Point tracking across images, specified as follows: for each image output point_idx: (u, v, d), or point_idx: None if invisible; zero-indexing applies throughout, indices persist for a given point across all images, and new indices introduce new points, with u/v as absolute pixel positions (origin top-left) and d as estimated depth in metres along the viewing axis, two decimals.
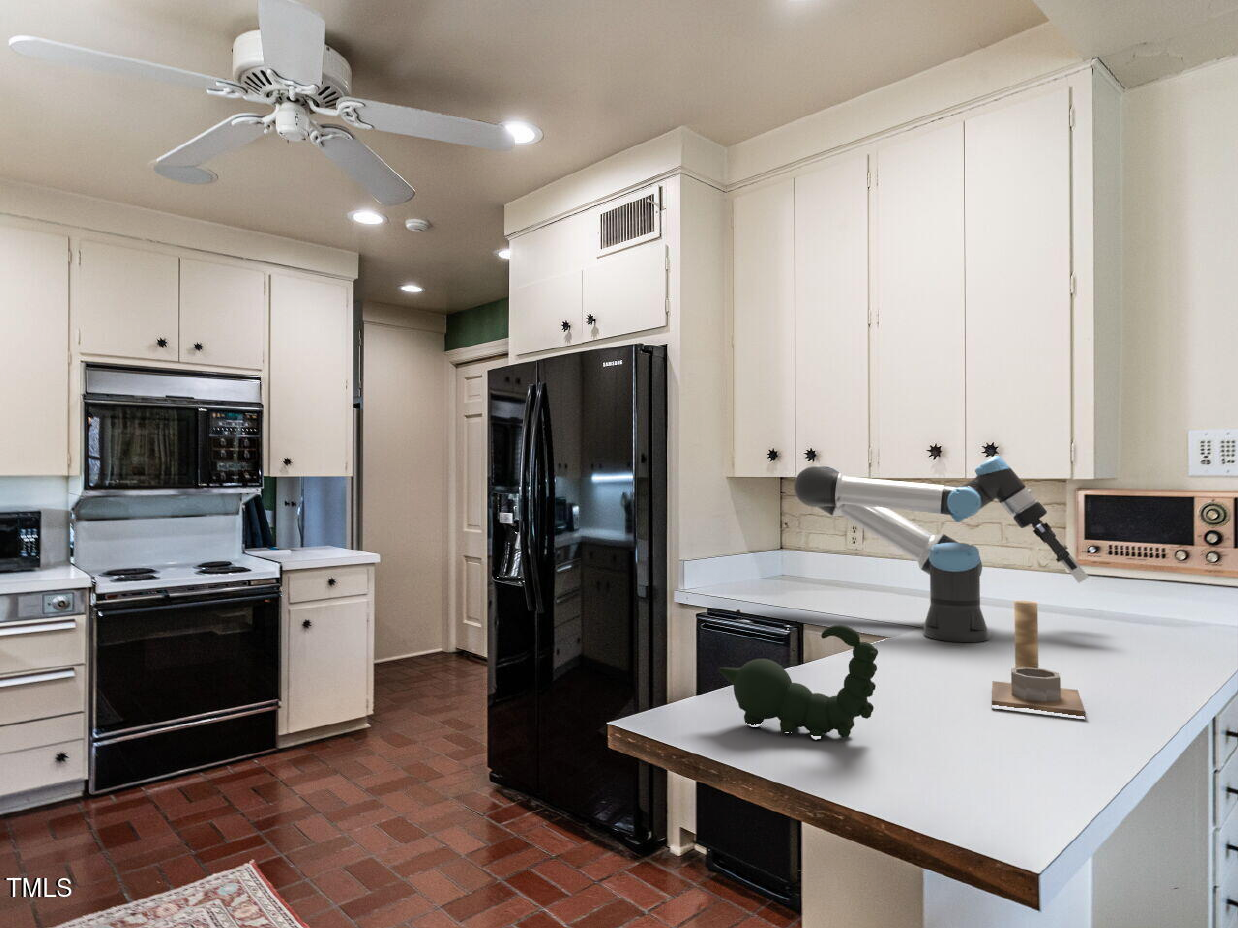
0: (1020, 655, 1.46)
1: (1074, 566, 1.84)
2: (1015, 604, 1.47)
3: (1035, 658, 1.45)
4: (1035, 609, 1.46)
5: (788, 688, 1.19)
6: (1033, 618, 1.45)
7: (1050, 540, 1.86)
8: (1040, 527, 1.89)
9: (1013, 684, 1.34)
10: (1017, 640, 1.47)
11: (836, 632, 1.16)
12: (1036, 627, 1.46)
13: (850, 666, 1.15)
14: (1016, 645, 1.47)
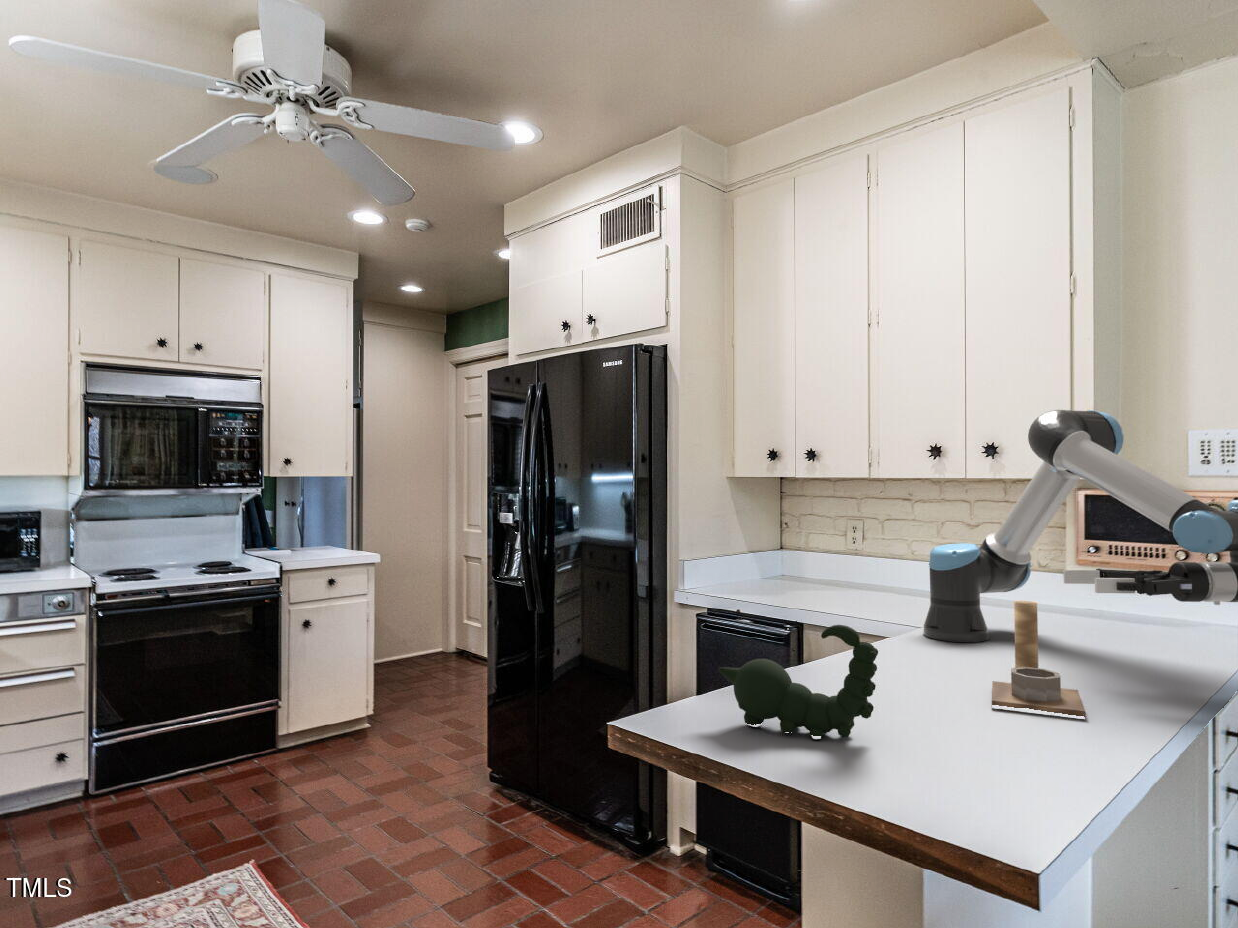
0: (1020, 655, 1.46)
1: (1123, 588, 1.37)
2: (1015, 604, 1.47)
3: (1035, 658, 1.45)
4: (1035, 609, 1.46)
5: (788, 688, 1.19)
6: (1033, 618, 1.45)
7: (1170, 586, 1.36)
8: (1188, 586, 1.37)
9: (1013, 684, 1.34)
10: (1017, 640, 1.47)
11: (836, 632, 1.16)
12: (1036, 627, 1.46)
13: (850, 666, 1.15)
14: (1016, 645, 1.47)
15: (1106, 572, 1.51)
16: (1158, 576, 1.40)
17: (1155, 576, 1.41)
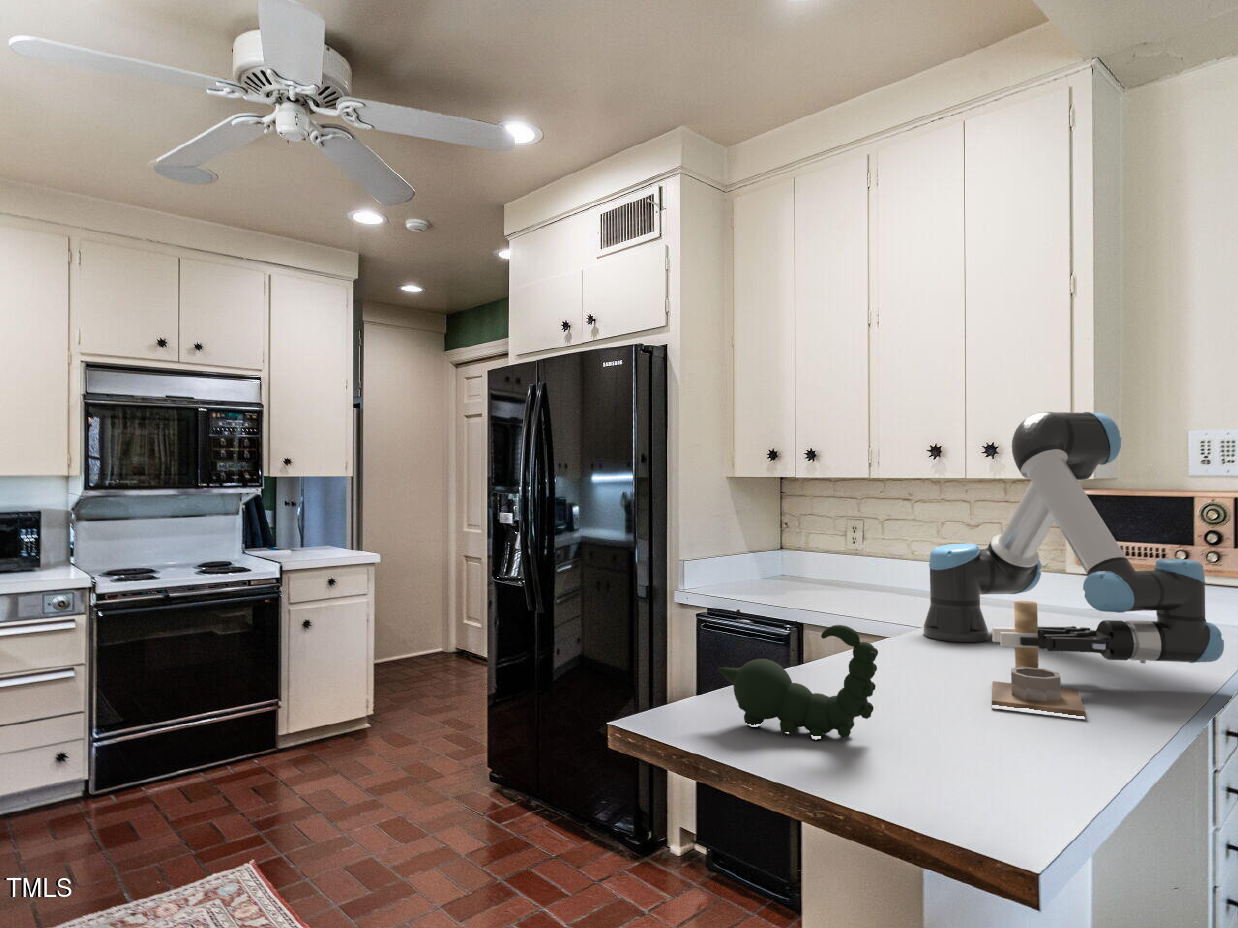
0: (1020, 655, 1.46)
1: (1025, 643, 1.44)
2: (1015, 604, 1.47)
3: (1035, 658, 1.45)
4: (1035, 609, 1.46)
5: (788, 688, 1.19)
6: (1033, 618, 1.45)
7: (1075, 644, 1.40)
8: (1100, 646, 1.39)
9: (1013, 684, 1.34)
10: None
11: (836, 632, 1.16)
12: (1036, 627, 1.46)
13: (850, 666, 1.15)
14: None
15: None
16: (1075, 633, 1.44)
17: (1073, 633, 1.44)
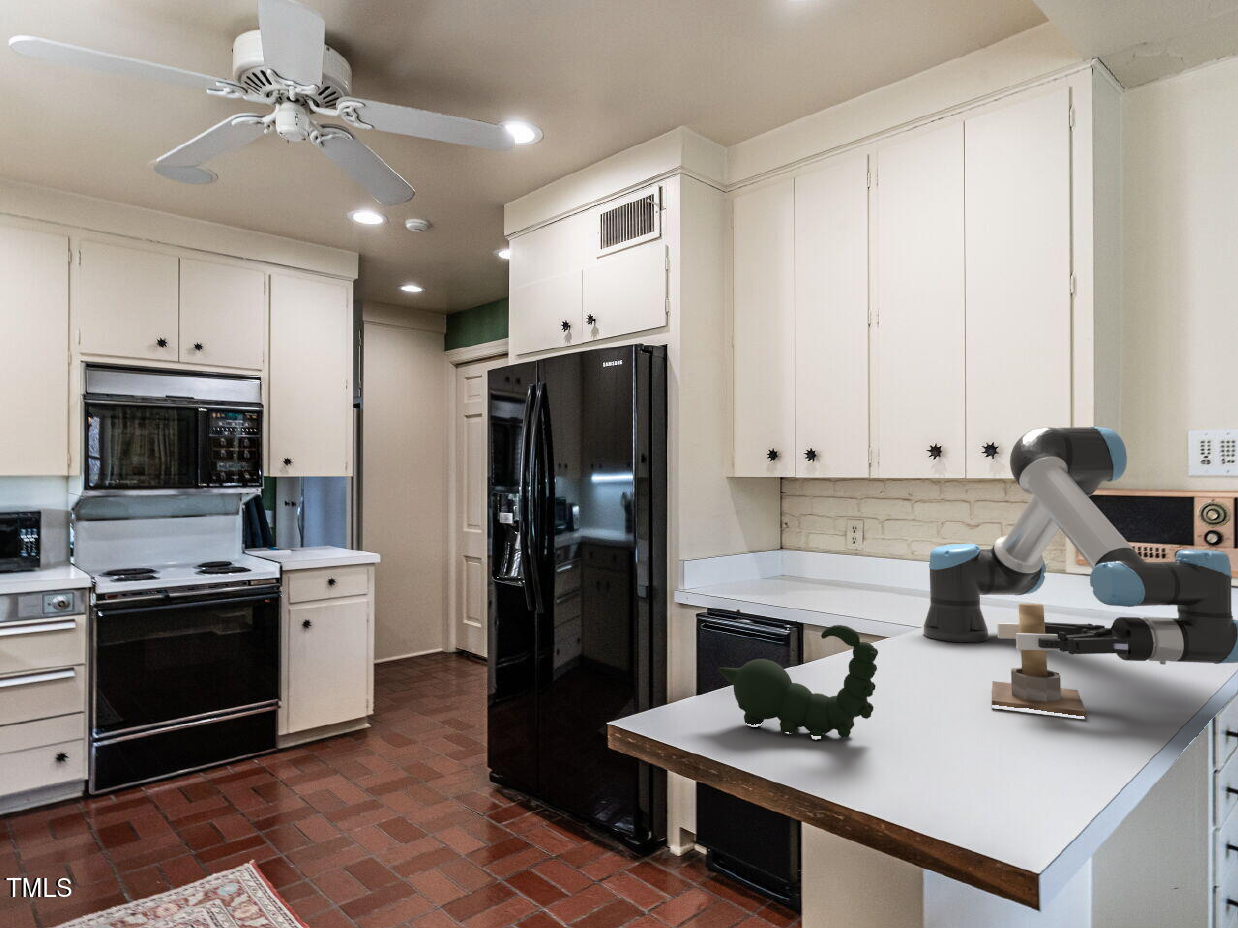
0: (1027, 663, 1.34)
1: (1044, 645, 1.28)
2: (1019, 607, 1.35)
3: (1044, 666, 1.33)
4: (1041, 611, 1.34)
5: (788, 688, 1.19)
6: (1039, 622, 1.33)
7: (1098, 645, 1.26)
8: (1123, 646, 1.26)
9: (1013, 684, 1.34)
10: None
11: (836, 632, 1.16)
12: (1043, 631, 1.33)
13: (850, 666, 1.15)
14: (1022, 652, 1.35)
15: (1045, 626, 1.38)
16: (1093, 633, 1.30)
17: (1090, 632, 1.30)
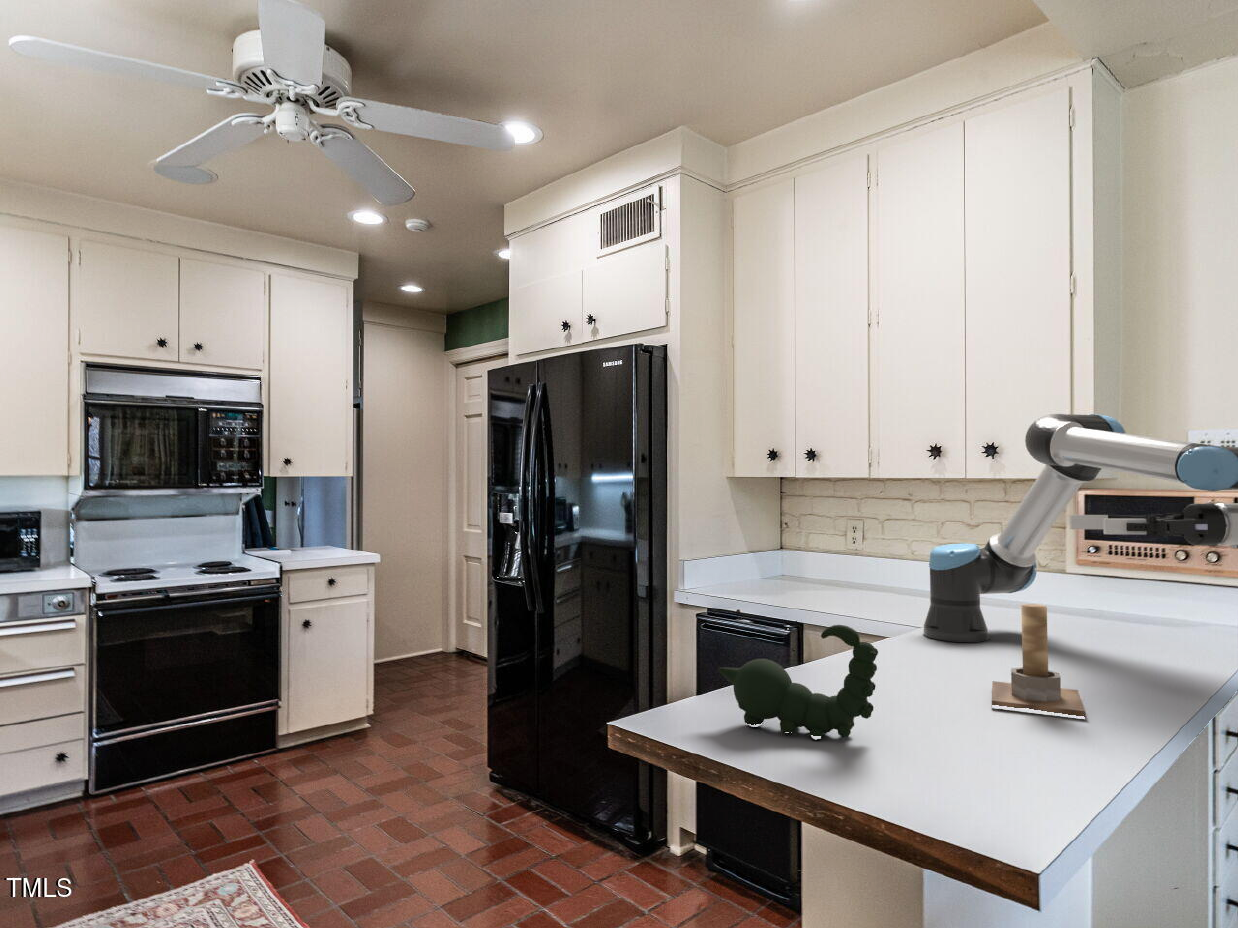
0: (1028, 664, 1.33)
1: (1133, 529, 1.28)
2: (1022, 608, 1.35)
3: (1045, 667, 1.32)
4: (1044, 613, 1.33)
5: (788, 688, 1.19)
6: (1042, 623, 1.32)
7: (1184, 526, 1.27)
8: (1203, 526, 1.28)
9: (1013, 684, 1.34)
10: (1025, 647, 1.34)
11: (836, 632, 1.16)
12: (1046, 633, 1.33)
13: (850, 666, 1.15)
14: (1024, 653, 1.34)
15: (1115, 517, 1.42)
16: (1171, 517, 1.31)
17: (1168, 517, 1.32)
